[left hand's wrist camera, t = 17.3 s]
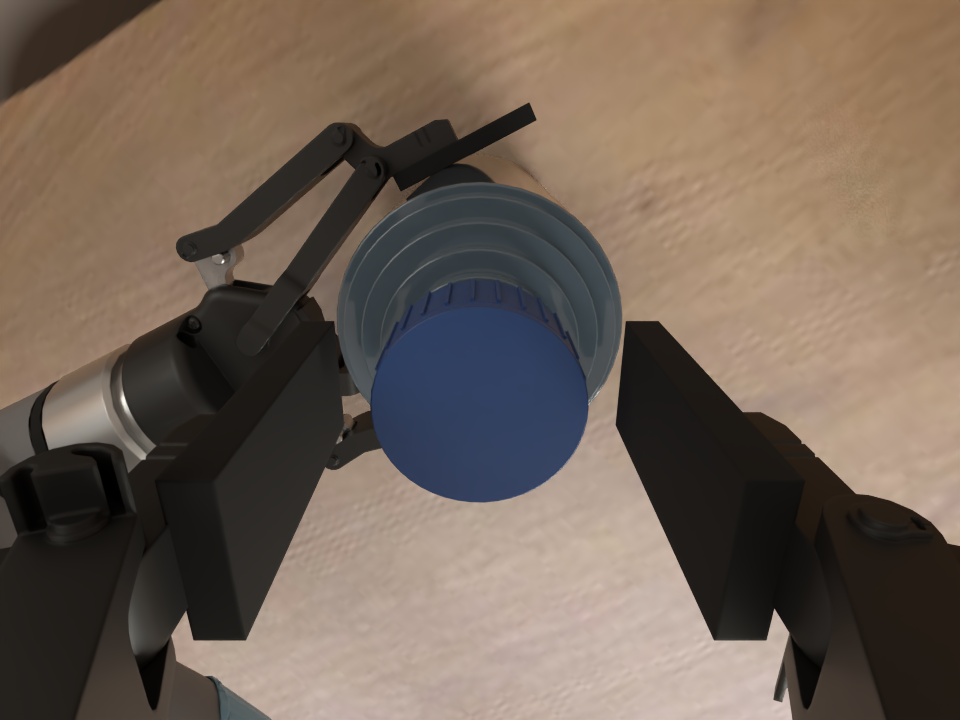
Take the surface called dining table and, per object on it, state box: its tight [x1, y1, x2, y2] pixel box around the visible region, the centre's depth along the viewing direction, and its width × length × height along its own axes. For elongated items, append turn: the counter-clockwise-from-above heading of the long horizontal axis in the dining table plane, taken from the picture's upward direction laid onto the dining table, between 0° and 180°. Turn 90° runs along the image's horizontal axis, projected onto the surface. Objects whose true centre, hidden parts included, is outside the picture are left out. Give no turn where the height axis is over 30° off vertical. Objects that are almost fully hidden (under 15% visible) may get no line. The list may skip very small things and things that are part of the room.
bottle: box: [337, 154, 622, 405], centre depth 23 cm, size 8×8×22 cm
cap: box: [370, 278, 589, 502], centre depth 13 cm, size 5×5×2 cm
